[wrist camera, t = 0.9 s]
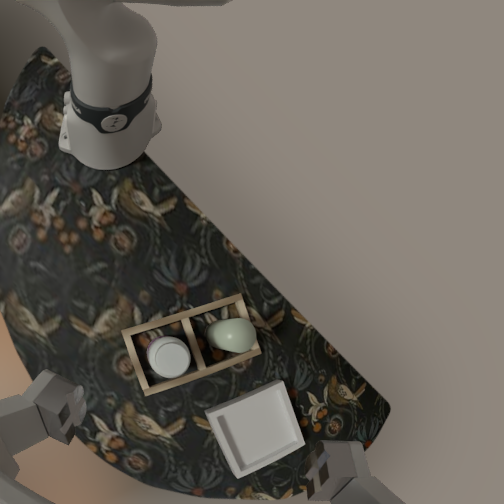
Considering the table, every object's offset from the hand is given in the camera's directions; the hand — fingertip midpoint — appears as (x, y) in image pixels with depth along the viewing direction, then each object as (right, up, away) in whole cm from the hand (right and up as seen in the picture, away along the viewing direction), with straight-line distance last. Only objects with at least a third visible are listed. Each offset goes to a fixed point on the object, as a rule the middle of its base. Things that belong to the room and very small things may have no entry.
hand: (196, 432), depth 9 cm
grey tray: (+2, -23, +35) cm, 42 cm away
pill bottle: (-11, -9, +33) cm, 36 cm away
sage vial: (-3, -7, +37) cm, 38 cm away
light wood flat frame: (-7, -8, +35) cm, 36 cm away
